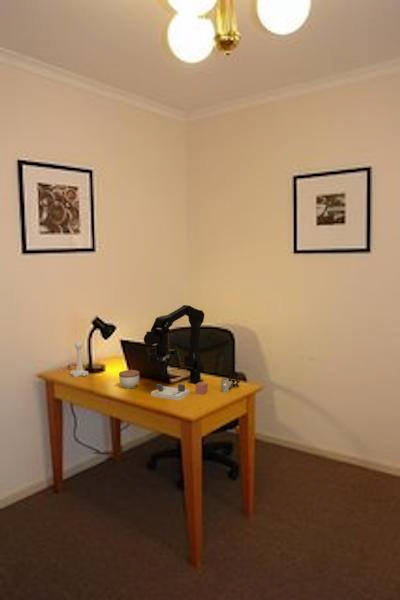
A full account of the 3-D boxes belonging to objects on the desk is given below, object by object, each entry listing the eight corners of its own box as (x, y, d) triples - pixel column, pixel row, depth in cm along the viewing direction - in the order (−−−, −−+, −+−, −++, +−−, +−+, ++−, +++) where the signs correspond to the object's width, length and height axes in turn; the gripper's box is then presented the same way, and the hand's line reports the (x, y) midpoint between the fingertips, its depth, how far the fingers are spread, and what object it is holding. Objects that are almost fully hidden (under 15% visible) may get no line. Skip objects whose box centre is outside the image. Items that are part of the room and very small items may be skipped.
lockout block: (199, 391, 238) (199, 381, 237) (207, 392, 236) (207, 382, 235) (195, 394, 234) (195, 384, 233) (203, 395, 232) (203, 385, 231)
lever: (179, 389, 234) (179, 383, 234) (184, 390, 233) (184, 384, 232) (178, 390, 233) (177, 384, 232) (183, 391, 231) (183, 385, 231)
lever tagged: (158, 389, 235) (157, 383, 234) (163, 390, 233) (163, 384, 233) (156, 390, 233) (156, 384, 233) (161, 391, 232) (161, 385, 232)
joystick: (89, 374, 273) (88, 341, 270) (81, 378, 266) (79, 343, 264) (75, 372, 278) (73, 339, 275) (66, 376, 271) (64, 342, 269)
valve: (228, 394, 233) (240, 387, 243) (228, 381, 232) (239, 375, 242) (217, 392, 236) (229, 385, 246) (217, 379, 236) (228, 373, 246)
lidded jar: (115, 388, 246) (114, 370, 245) (128, 382, 255) (127, 366, 254) (131, 391, 241) (130, 373, 240) (143, 385, 250) (143, 368, 249)
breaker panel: (162, 389, 241) (162, 383, 241) (189, 393, 234) (189, 387, 234) (150, 396, 232) (150, 389, 231) (178, 400, 224) (178, 393, 224)
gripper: (159, 337, 246) (160, 366, 248) (139, 344, 230) (140, 375, 232) (177, 339, 241) (178, 368, 243) (158, 346, 225) (159, 377, 227)
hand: (163, 372), depth 236 cm, fingers closed
